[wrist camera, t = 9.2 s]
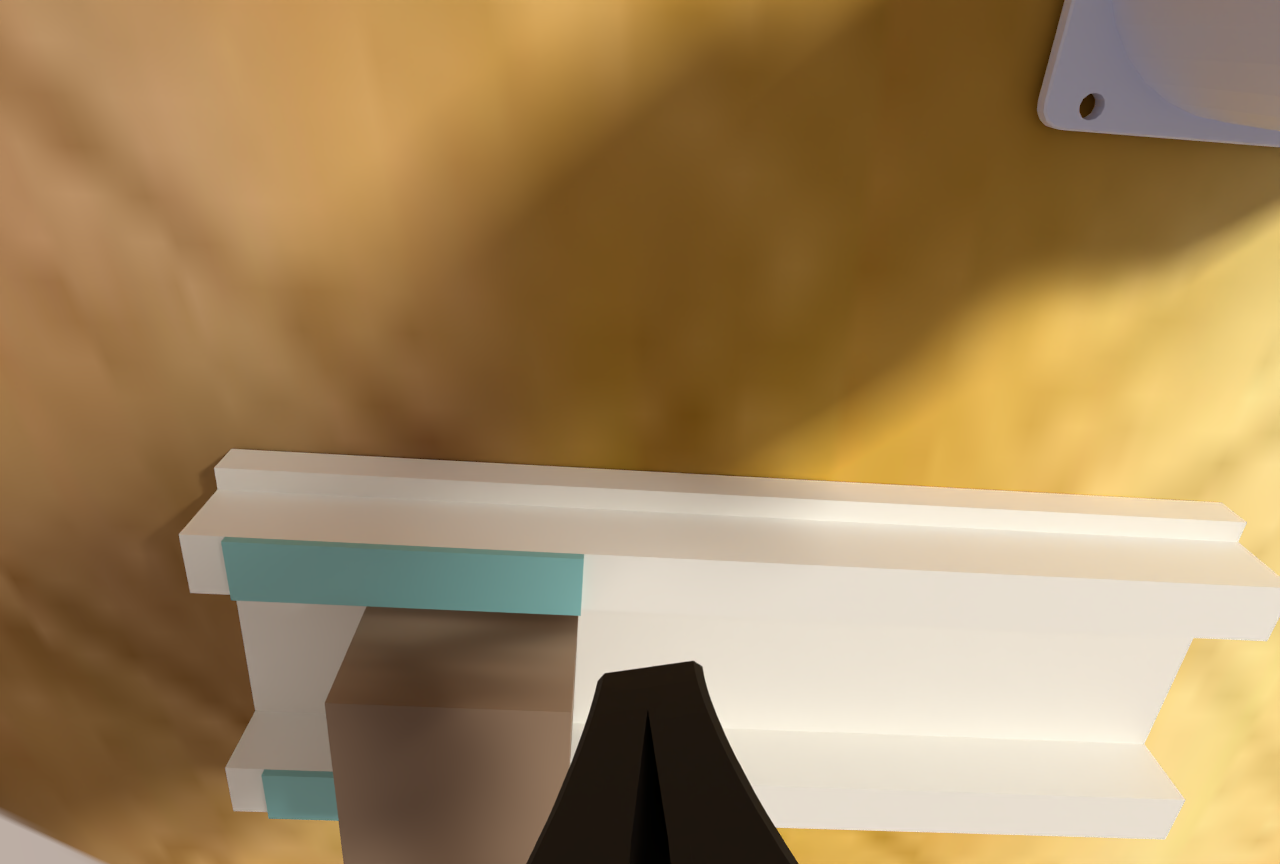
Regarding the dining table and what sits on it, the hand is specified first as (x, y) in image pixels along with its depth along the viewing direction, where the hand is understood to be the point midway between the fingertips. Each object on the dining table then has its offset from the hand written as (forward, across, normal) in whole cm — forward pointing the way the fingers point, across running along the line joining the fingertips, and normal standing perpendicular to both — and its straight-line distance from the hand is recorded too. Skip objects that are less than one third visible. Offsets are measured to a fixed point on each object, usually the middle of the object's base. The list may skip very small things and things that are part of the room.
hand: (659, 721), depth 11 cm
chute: (+10, -1, +7) cm, 13 cm away
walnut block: (+9, +5, +6) cm, 12 cm away
